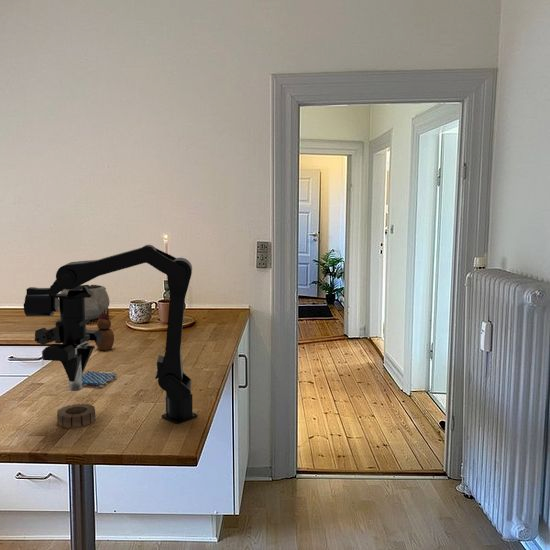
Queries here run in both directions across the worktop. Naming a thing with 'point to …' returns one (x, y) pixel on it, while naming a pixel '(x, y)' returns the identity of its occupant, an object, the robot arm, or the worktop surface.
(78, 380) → the grey cylinder
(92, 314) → the clay pot
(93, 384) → the woven mat
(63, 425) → the walnut gear
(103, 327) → the wooden figurine
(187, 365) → the worktop surface
